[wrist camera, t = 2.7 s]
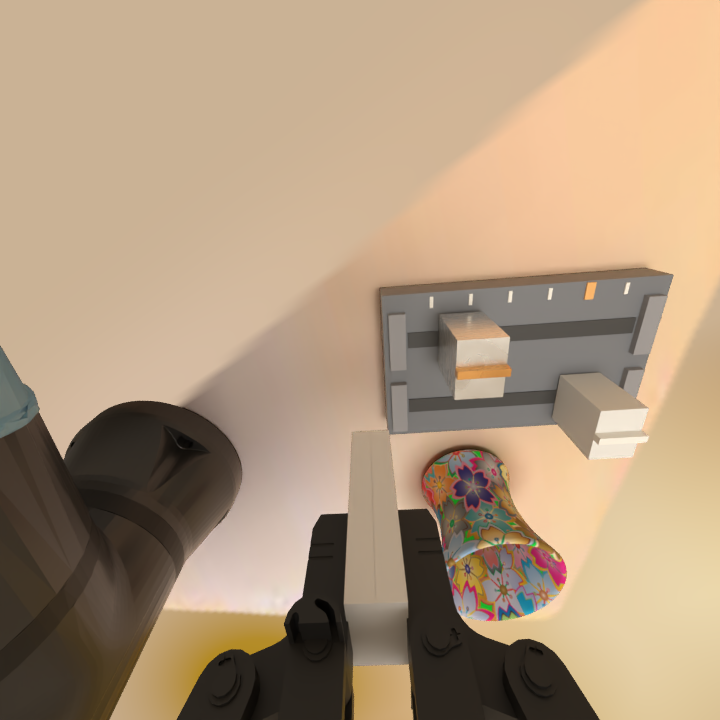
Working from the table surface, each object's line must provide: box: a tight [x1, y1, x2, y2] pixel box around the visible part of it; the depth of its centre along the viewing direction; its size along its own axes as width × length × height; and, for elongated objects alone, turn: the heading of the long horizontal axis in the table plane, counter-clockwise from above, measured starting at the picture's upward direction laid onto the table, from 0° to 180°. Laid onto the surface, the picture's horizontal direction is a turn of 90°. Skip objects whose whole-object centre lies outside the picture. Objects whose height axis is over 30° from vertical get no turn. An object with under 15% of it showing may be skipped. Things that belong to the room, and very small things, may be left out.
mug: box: [422, 450, 567, 621], centre depth 30 cm, size 12×9×11 cm
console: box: [380, 268, 673, 460], centre depth 25 cm, size 20×12×8 cm, turn 94°
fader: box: [438, 311, 512, 400], centre depth 23 cm, size 3×4×6 cm
